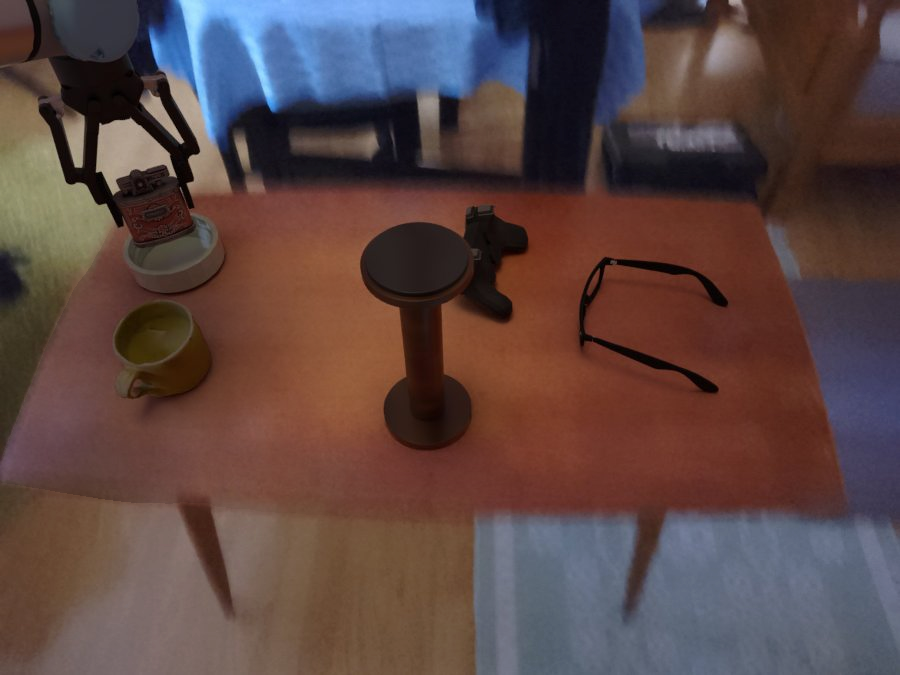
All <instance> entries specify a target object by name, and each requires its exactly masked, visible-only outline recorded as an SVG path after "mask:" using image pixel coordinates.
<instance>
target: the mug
mask: <svg viewBox="0 0 900 675" xmlns="http://www.w3.org/2000/svg"><path fill="white" fill-rule="evenodd" d="M111 342H112V349H113V353H114V355H115V356H116V357H117V359H118V360H119V362H120V363H121V364H122V365H123V366H124V369H122V371H120V372H119V374H118V375H117V377H116V379H115V389H116V395H117V396H118V397H120V398H122V399H128V400H136V399H140V398H143V397H144V396H146V395H147V396H151V397H156V398H157V397H160V398H161V397H168V396H172V395H175V394H182V393H183V394H184V393H185V392H189V391H190V390H192V389H193V388H195V387H197V386H198V385H199V384H200V382H202V380H203V379H204V378H205V377H206V376H207V374H208V372H209V371H210V367H211V364H212V354H211V351H210V350H211V349H210V347H209V344H208V343H207V342H208V341H207V340H206V337H205V335H204V334H203V331H202V329H201V326H200V325H199V323H198V322H197V321H196V318H195V317H194V315H193V314H192V312H191V310H190V309H189V308H188V307H187V306H186V305H184V304H183V303H180V302H178V301H176V300H172V299H167V298H164V299H153V300H149V301H146V302H144V303H141V304H140V305H137V306H135V307H134V308H132V309H131V310H130V311H129V312H128V313H126V314H125V315H124V316H123V317H122V318H121V319H120V321H119V323H118V324H117V326H116V327H115V330H114V332H113V334H112V339H111ZM136 381H139V383H140V385H136V386H134V384H135V382H136Z"/></svg>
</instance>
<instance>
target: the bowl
mask: <svg viewBox="0 0 900 675" xmlns="http://www.w3.org/2000/svg"><path fill="white" fill-rule="evenodd" d="M189 213H190V215H191V218H192V219H193V220H194V222H195V225H196V229H195V231H194V232H192V233H191V234H189V235H186V236H184V237H182V238H180V239H177V240H174V241H172V242H169V243H165V244H162V245H158V246H154V247H149V248H144V249H140V248H137V247H136V246H135V245H134V243H133V241H132V235H131V233H130V234H129V235H128V237H127V238H126V239H125V241H124V244H123V246H122V256H123V261H124V263H125V264H126V267H127V268H128V270H129V272H130V274H131V276H132V278H133V279H134V281H136V283H137V285H139V286H140V287H141V288H144V289H146V290H147V291H150V292H155V293H161V294H173V293H179V292H180V293H181V292H185V291H188V290H191V289H195V288H196V287H198V286H200V285H203V284H204V283H206V282H207V281H208V280H209V279H211V278H212V277H213V276H214V275H215V274H216V273H218V271H219V269H220V267H221V266H222V265H223V263H224V260H225V254H226V253H225V252H226V251H225V247H224V245H223V242H222V238H221V236H220V234H219V231H218V228H217V225H216V224H215V223H214V222H213V221H212V220H211V219H210V218H209V217H206V216H205V215H202V214H199V213H196V212H189Z"/></svg>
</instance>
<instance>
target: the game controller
mask: <svg viewBox="0 0 900 675" xmlns="http://www.w3.org/2000/svg"><path fill="white" fill-rule="evenodd" d="M495 208H496V206H495V205H493V204H479V206H475V205H470V206H467V207H466V208H465V212H464V213H465V214H464V216H465V221H464V234H463V236H462V237H463V238H464V239H465V240H466V242H467V243H468V244H469V246H470V248H471V250H472V252H473V257H474V272H473V276H472V279H471V281H470V283H469V284H468V286H467V287H466V288H465V290H464V291H463V292H462V293H460V294H459V295H462V296H463V297H466V298H467V299H468V300H470V301H472V302H473V303H475V304H476V305H478V306H479V307H481V308H483V309H484V310H486V311H487V312H489V313H490V314H492V315H493V316H495V317H497V318H500V319H502V320H507V319H509V318H510V316H511V314H512V312H513V311H514V308H513V307H514V306H513V301H512V300H511V299H510V298H509V297H508V296H506V295H505V294H503V293H502V292H500V291H499V290H498V289H496V288H495V287H494V285H495V283H496V282H497V273H496V272H497V271H496V268H495V266H494V265H499V264H500V263H501V262H502V256H503V254H502V251H510V252H511V251H514V252H524V251H526V249H527V247H528V246H529V236H528V232H527V229H525V227H524V226H522V225H519V224H515V223H512V222H507V221H505V220H503V219H501V218H500V217H498V216H497V215H496V214H495Z"/></svg>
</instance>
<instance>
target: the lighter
mask: <svg viewBox="0 0 900 675" xmlns="http://www.w3.org/2000/svg"><path fill="white" fill-rule="evenodd" d="M115 183H116V185H117V187H118V189H119V190H118V191H116V192H114V194H113V197H112V198H113V201H114V203H115V205H116V206H117V207H118V208H119V210H120V212H121V214H122V217H123V222H124V224H126V227H127V229H128V231H129V233H130V234H131V235H132V241H133V243H134V245H135V246H136V247H137V248H140V249H144V248H149V247H154V246H158V245H162V244H165V243H169V242H172V241H174V240H177V239H180V238H182V237H184V236H186V235H189V234H191V233H192V232H194V231H195V229H196V225H195V222H194V220H193V219H192V218H191V215H190V213H191V212H190V209H189V208H188V206H187V203H186V200H185V198H184V195H183V192H182V190H181V187H180V185H179V182H178V179H177V177H176V176H173V175H171V173H170V170H169V168H168V166H167V165H166V164H164V163H163V164H160V165H155V166H152V167H148V168H146V169H145V170H140V169H138V168H135V169H132V170H131V171H130V172H129V174H128V175H125V176H121V177H118V178H116V179H115Z"/></svg>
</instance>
